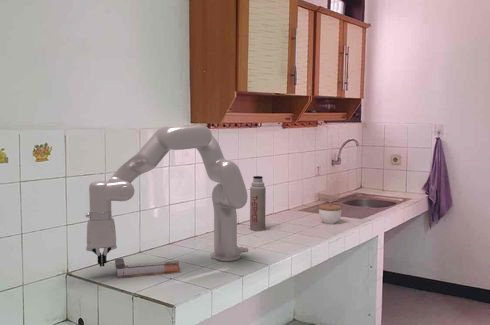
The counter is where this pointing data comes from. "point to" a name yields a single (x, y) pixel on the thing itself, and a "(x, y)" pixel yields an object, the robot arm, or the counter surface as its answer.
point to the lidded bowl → (330, 213)
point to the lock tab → (119, 263)
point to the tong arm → (153, 264)
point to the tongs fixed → (147, 270)
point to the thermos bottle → (257, 204)
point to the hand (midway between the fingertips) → (102, 265)
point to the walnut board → (148, 274)
